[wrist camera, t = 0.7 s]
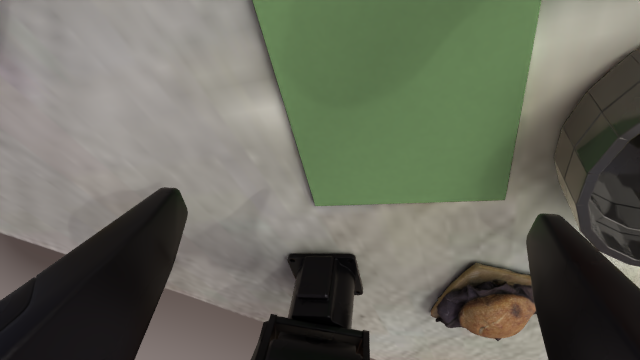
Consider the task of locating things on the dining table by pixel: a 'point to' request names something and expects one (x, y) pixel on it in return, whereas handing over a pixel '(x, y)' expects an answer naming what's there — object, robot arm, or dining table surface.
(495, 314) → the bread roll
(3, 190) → the dining table surface
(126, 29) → the dining table surface
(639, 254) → the pan
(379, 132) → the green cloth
